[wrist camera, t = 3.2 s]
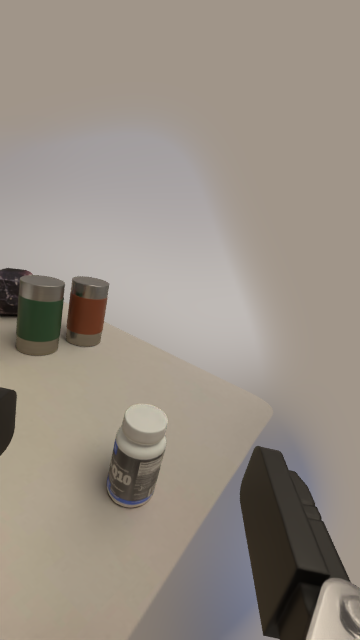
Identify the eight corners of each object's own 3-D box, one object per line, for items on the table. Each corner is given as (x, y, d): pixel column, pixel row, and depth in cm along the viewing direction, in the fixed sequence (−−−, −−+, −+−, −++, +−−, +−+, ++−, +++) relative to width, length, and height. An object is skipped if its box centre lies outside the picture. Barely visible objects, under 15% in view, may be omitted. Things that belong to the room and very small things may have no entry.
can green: (64, 344, 53) (71, 281, 50) (47, 359, 47) (53, 289, 44) (29, 336, 53) (33, 273, 50) (6, 350, 47) (10, 279, 43)
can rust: (104, 337, 60) (113, 282, 57) (94, 349, 54) (103, 288, 50) (73, 330, 60) (80, 274, 57) (59, 341, 54) (65, 279, 50)
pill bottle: (98, 477, 28) (110, 406, 26) (138, 461, 31) (153, 396, 29) (120, 519, 25) (137, 441, 23) (163, 496, 28) (182, 426, 26)
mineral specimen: (19, 317, 55) (3, 266, 53) (-19, 323, 59) (-35, 274, 57) (54, 307, 64) (42, 262, 62) (19, 312, 68) (7, 270, 66)
